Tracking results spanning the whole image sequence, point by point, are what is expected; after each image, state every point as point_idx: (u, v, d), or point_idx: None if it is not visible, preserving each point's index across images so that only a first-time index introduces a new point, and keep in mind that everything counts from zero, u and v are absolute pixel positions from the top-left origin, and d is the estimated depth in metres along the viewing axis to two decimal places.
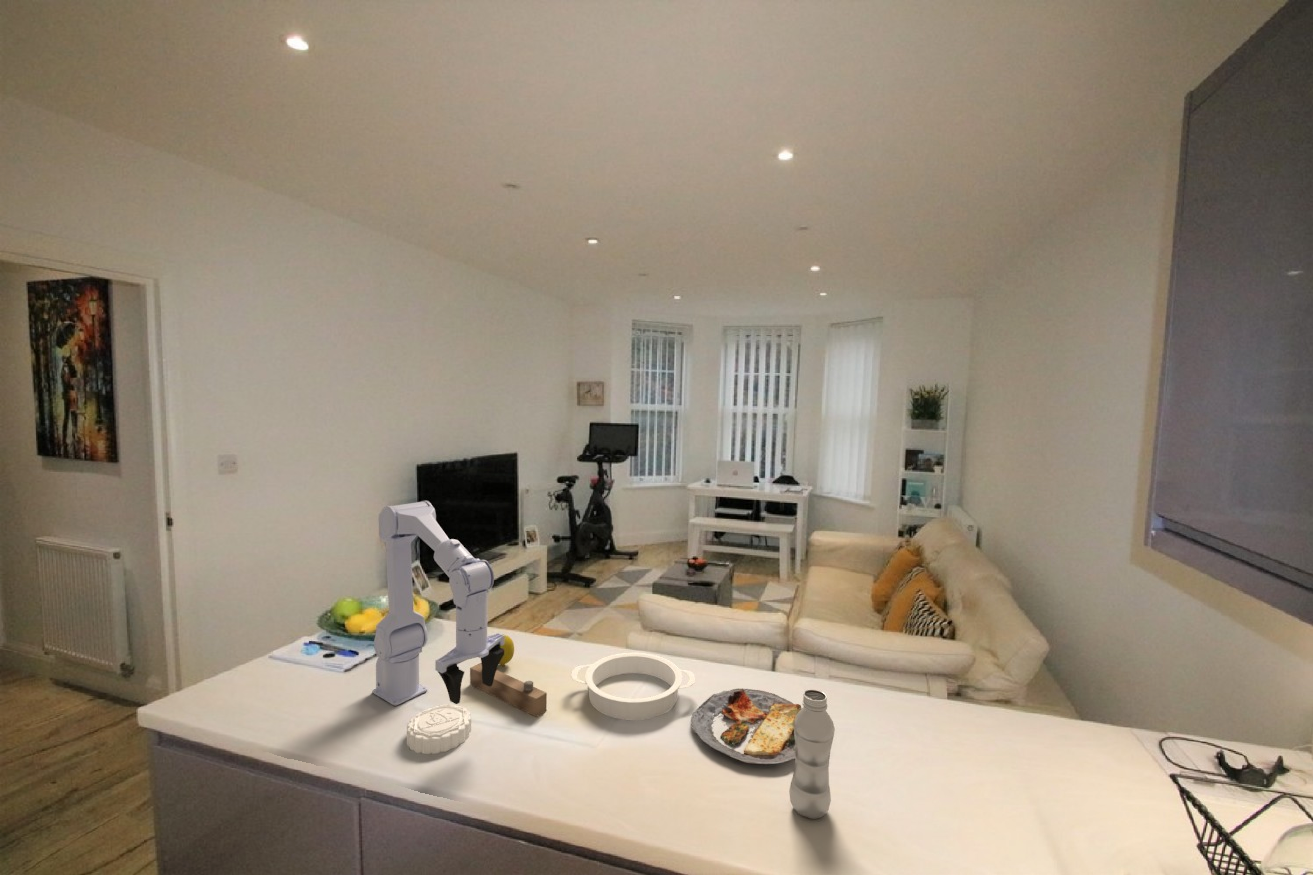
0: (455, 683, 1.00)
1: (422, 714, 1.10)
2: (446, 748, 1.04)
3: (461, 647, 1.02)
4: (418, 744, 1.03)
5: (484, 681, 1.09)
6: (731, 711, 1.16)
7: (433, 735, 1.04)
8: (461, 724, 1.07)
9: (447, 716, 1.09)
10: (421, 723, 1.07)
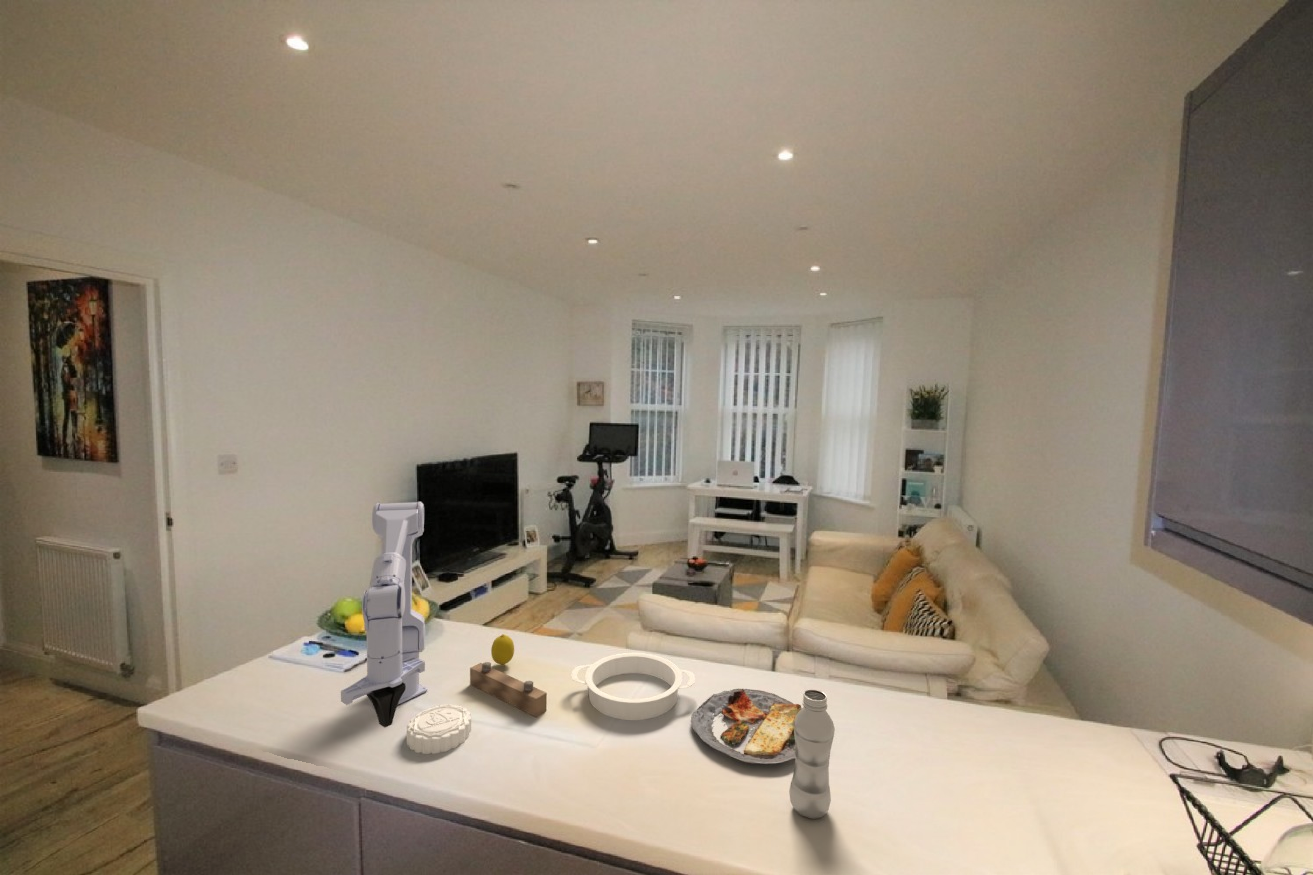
0: (382, 706, 0.96)
1: (422, 714, 1.10)
2: (446, 748, 1.04)
3: (371, 676, 0.96)
4: (418, 744, 1.03)
5: None
6: (731, 711, 1.16)
7: (433, 735, 1.04)
8: (461, 724, 1.07)
9: (447, 716, 1.09)
10: (421, 723, 1.07)
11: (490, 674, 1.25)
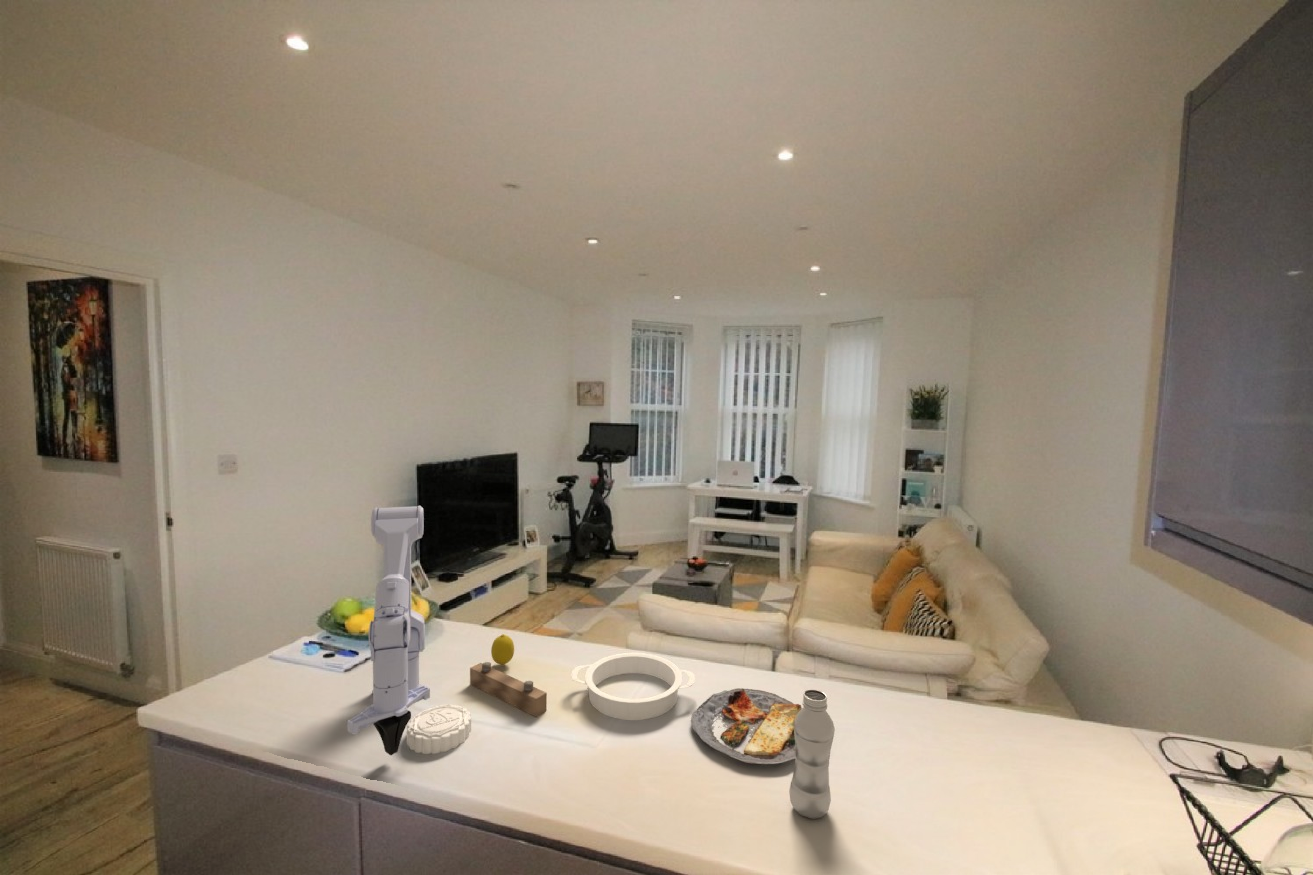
0: (388, 734, 0.98)
1: (422, 714, 1.10)
2: (446, 748, 1.04)
3: (377, 705, 0.97)
4: (418, 744, 1.03)
5: None
6: (731, 711, 1.16)
7: (433, 735, 1.04)
8: (461, 724, 1.07)
9: (447, 716, 1.09)
10: (421, 723, 1.07)
11: (490, 674, 1.25)
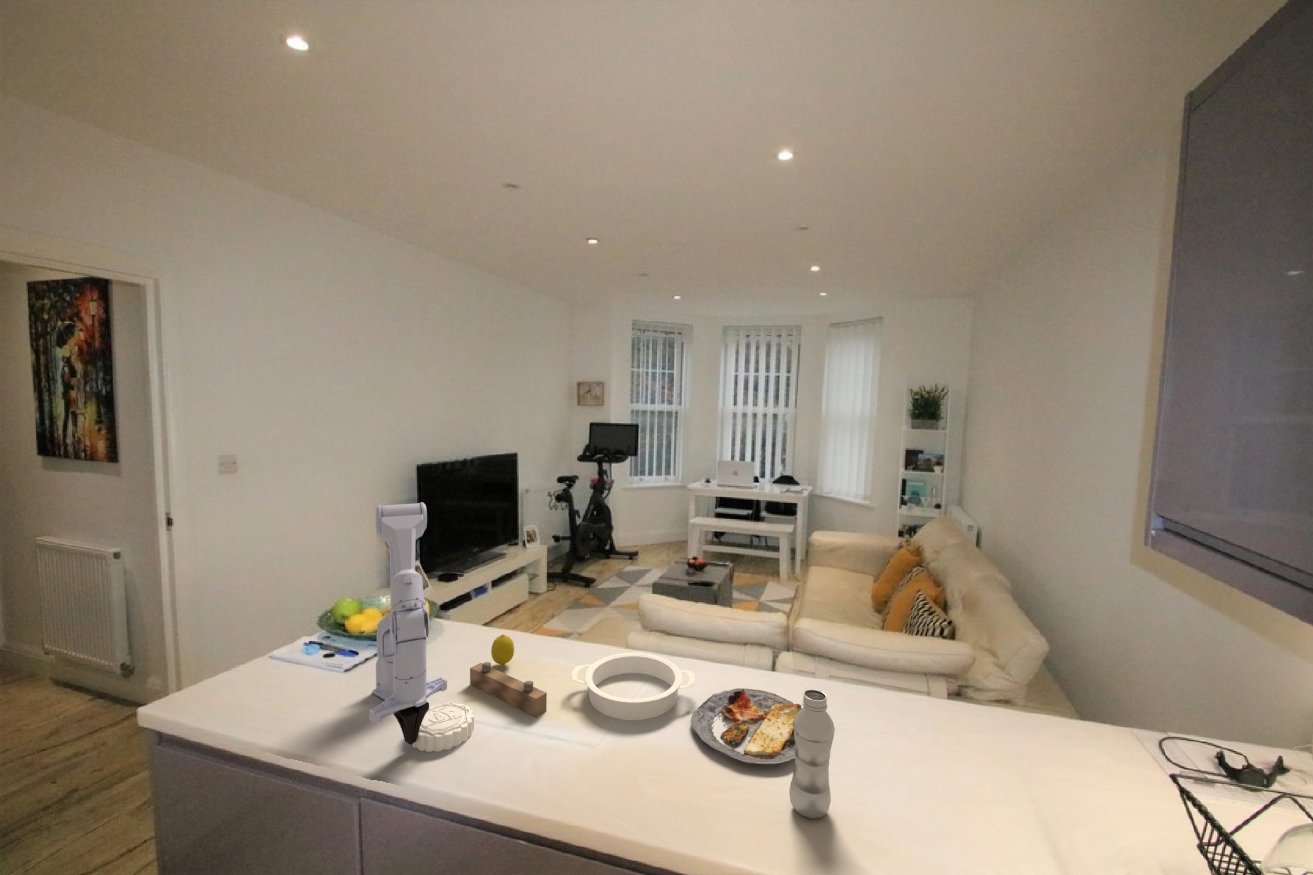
0: (408, 724, 1.01)
1: None
2: (449, 746, 1.04)
3: (398, 696, 1.00)
4: (421, 742, 1.03)
5: None
6: (731, 711, 1.16)
7: (436, 733, 1.04)
8: (464, 722, 1.08)
9: (450, 714, 1.10)
10: (424, 721, 1.07)
11: (490, 674, 1.25)
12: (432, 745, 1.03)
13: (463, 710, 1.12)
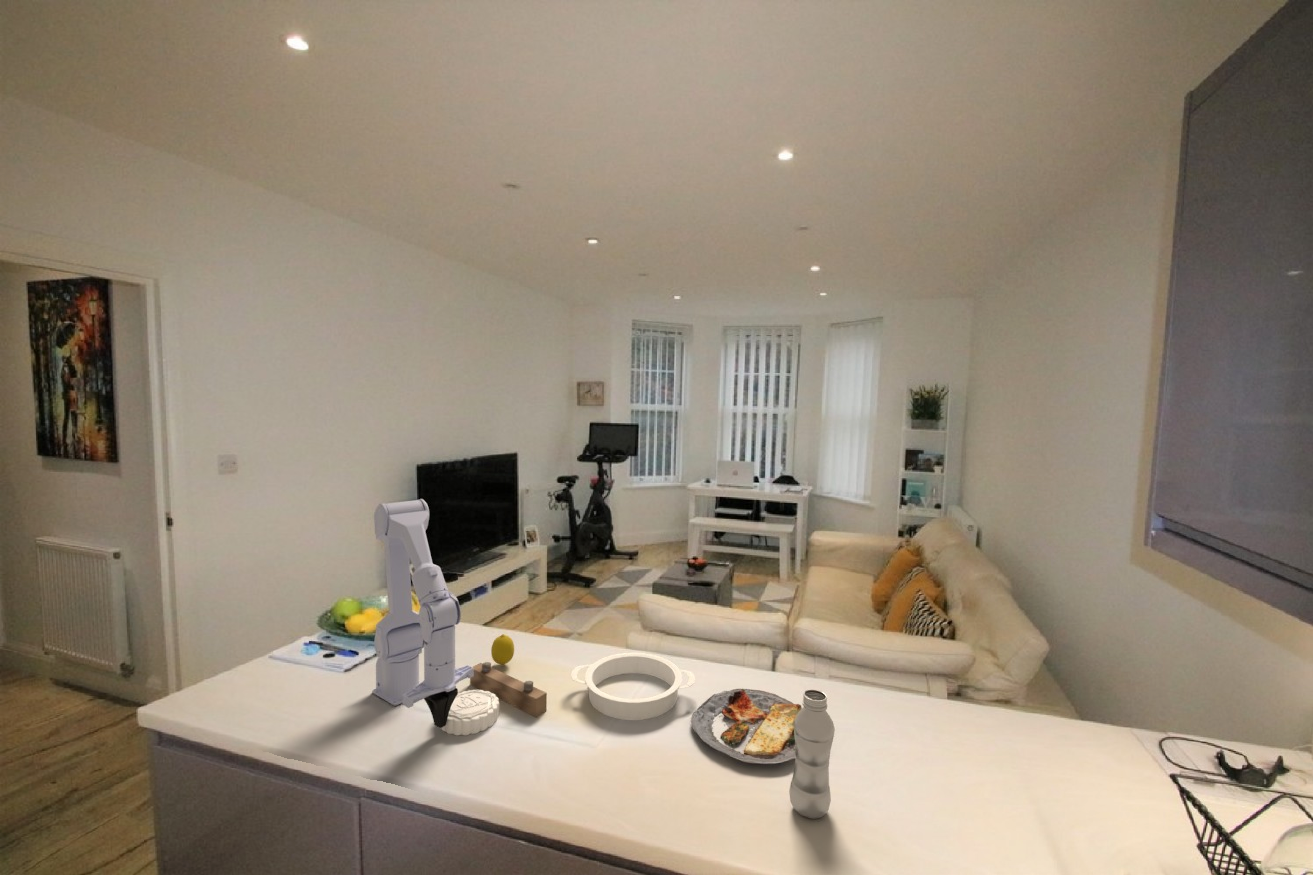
0: (439, 708, 1.06)
1: None
2: (476, 730, 1.09)
3: (429, 682, 1.05)
4: (450, 726, 1.09)
5: None
6: (731, 711, 1.16)
7: (463, 717, 1.09)
8: (490, 708, 1.13)
9: (477, 700, 1.15)
10: (452, 706, 1.12)
11: (490, 674, 1.25)
12: (460, 729, 1.08)
13: (489, 697, 1.17)
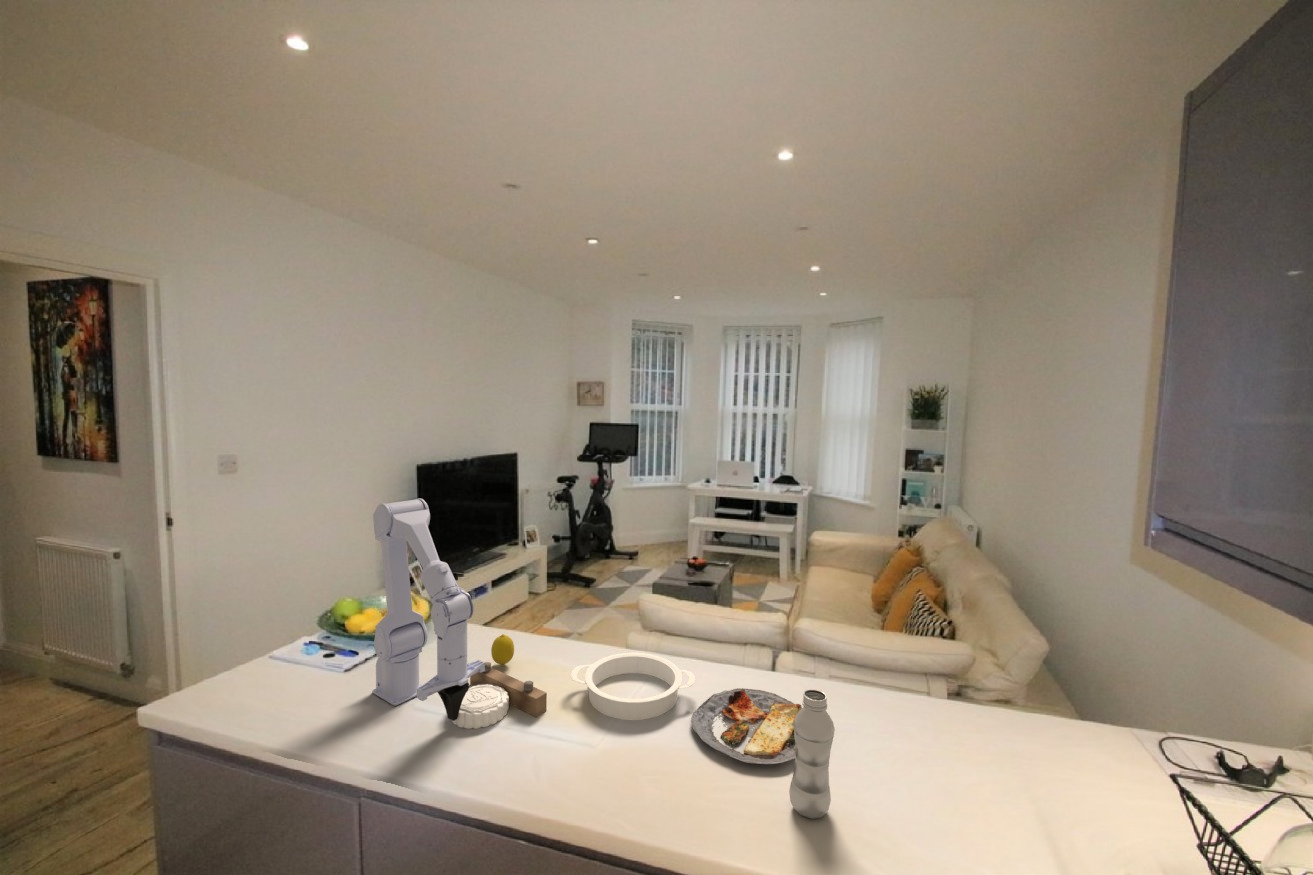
0: (452, 701, 1.08)
1: None
2: (486, 723, 1.11)
3: (442, 676, 1.08)
4: (461, 719, 1.11)
5: None
6: (731, 711, 1.16)
7: (474, 711, 1.11)
8: (500, 702, 1.15)
9: (487, 694, 1.17)
10: (463, 700, 1.15)
11: (490, 674, 1.25)
12: (471, 722, 1.11)
13: (498, 691, 1.19)
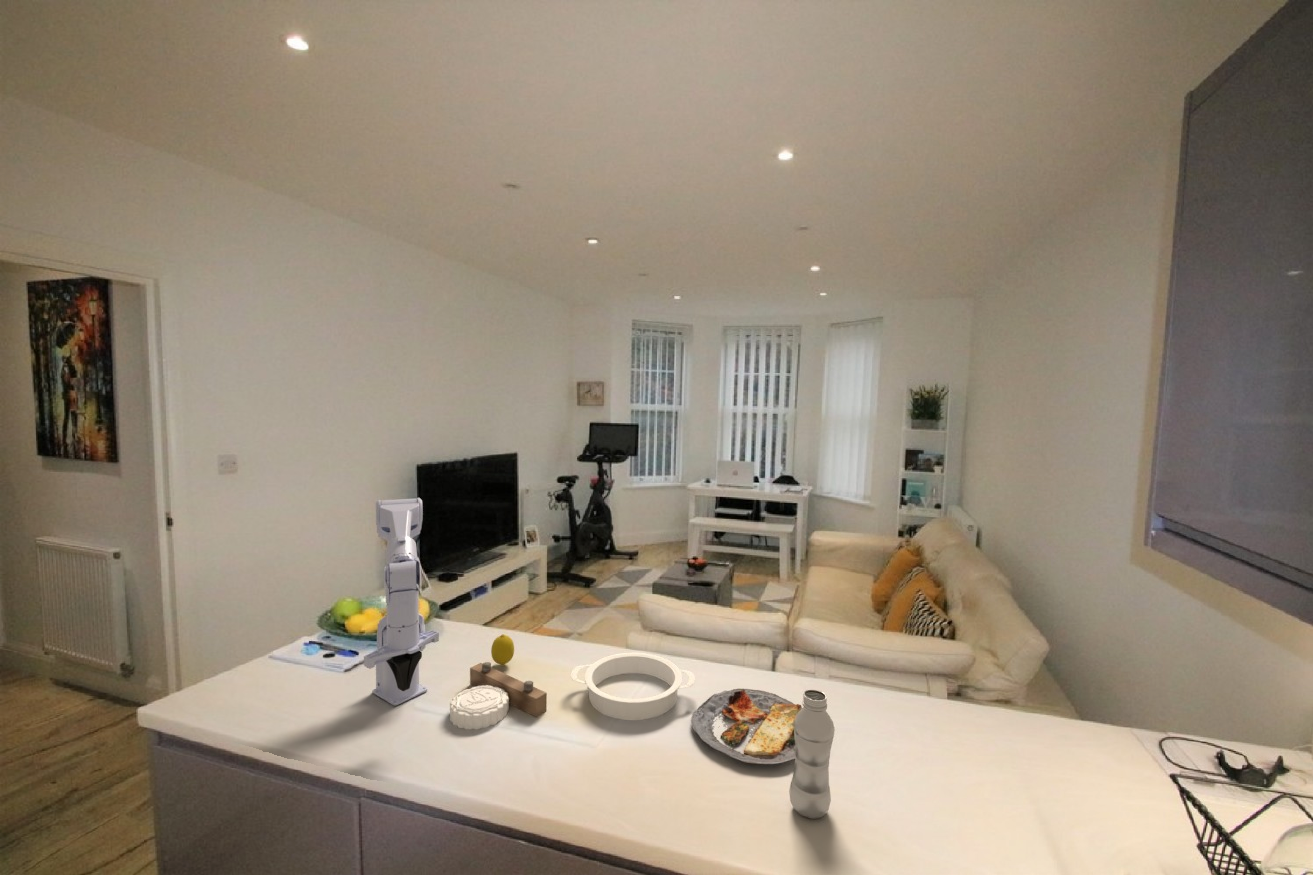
0: (401, 671, 1.05)
1: (463, 693, 1.18)
2: (486, 724, 1.11)
3: (391, 644, 1.05)
4: (461, 720, 1.11)
5: None
6: (731, 711, 1.16)
7: (474, 712, 1.11)
8: (499, 703, 1.15)
9: (487, 695, 1.17)
10: (463, 701, 1.15)
11: (490, 674, 1.25)
12: (471, 723, 1.11)
13: (498, 692, 1.19)
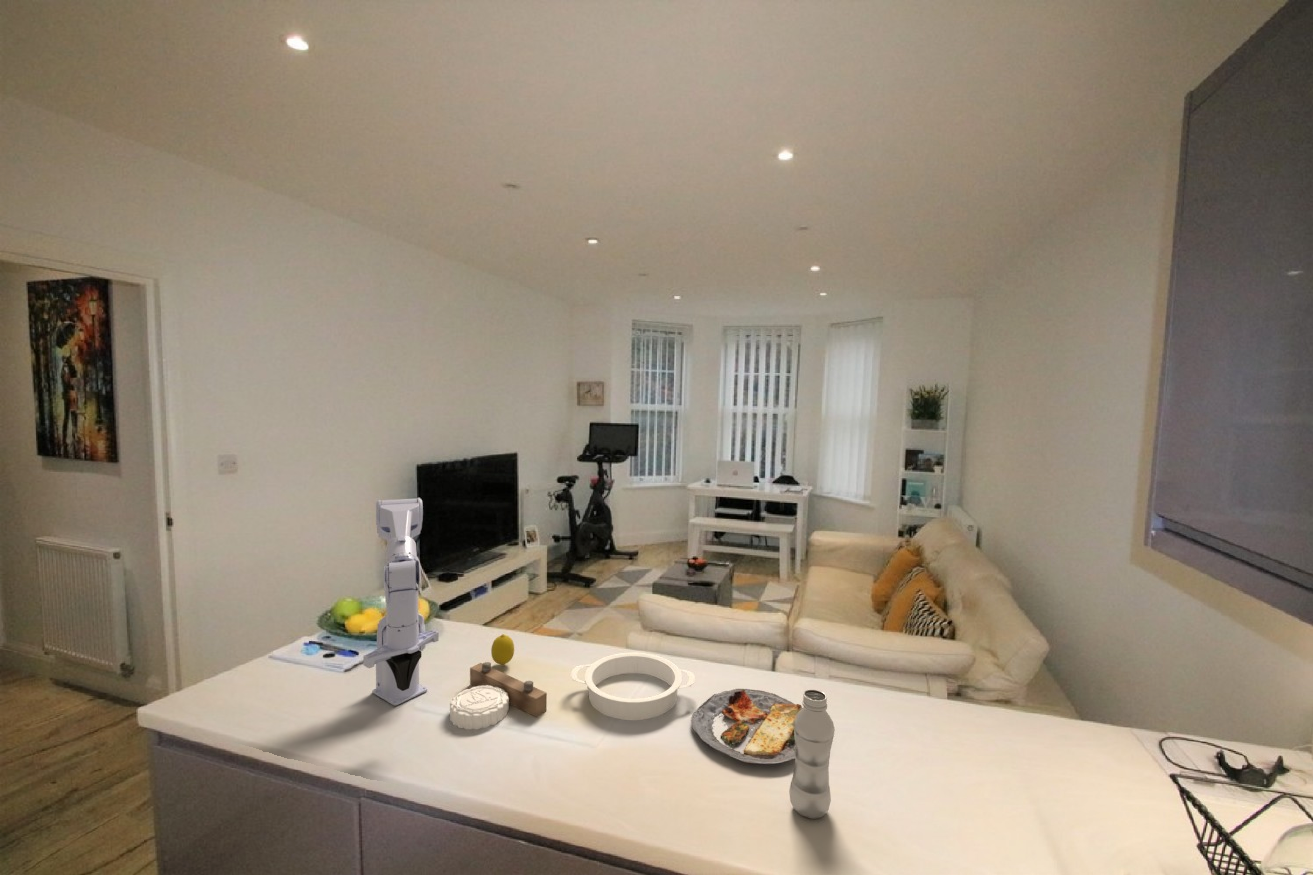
0: (401, 671, 1.05)
1: (463, 693, 1.18)
2: (486, 724, 1.11)
3: (391, 643, 1.05)
4: (461, 720, 1.11)
5: None
6: (731, 711, 1.16)
7: (474, 712, 1.11)
8: (500, 703, 1.15)
9: (487, 695, 1.17)
10: (463, 701, 1.15)
11: (490, 674, 1.25)
12: (471, 723, 1.11)
13: (498, 692, 1.19)
